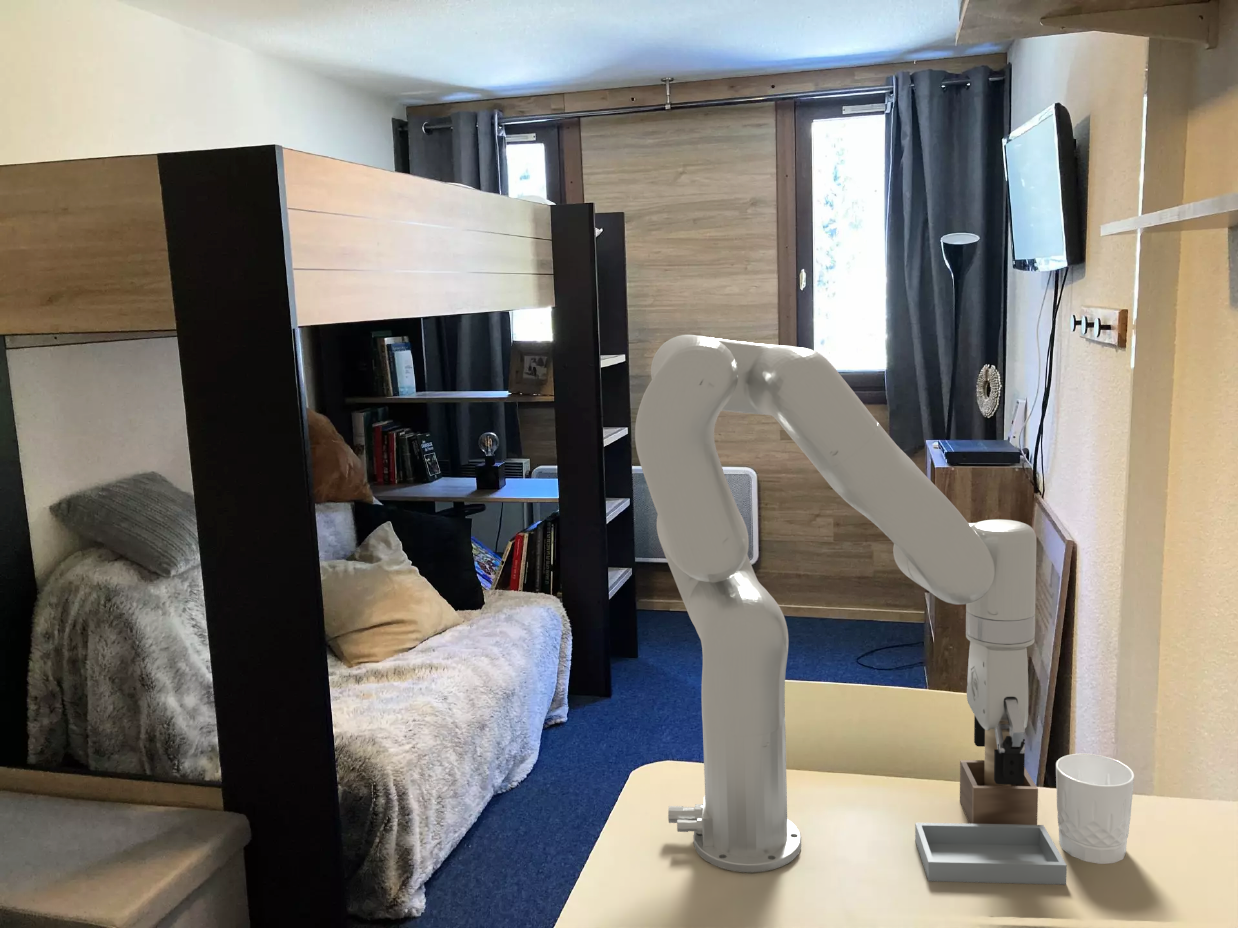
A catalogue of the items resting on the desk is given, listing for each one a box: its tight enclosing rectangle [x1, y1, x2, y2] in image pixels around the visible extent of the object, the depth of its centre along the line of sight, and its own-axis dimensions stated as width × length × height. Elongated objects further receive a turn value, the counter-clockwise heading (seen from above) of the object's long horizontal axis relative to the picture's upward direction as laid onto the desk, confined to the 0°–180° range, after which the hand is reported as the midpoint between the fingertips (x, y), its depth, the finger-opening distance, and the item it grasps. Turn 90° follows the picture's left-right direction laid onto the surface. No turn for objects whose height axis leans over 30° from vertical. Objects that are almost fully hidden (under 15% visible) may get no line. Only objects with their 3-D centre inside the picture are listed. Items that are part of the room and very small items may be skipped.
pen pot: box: [959, 759, 1039, 825], centre depth 119 cm, size 7×7×6 cm
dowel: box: [984, 721, 1011, 786], centre depth 118 cm, size 3×3×12 cm
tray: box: [914, 822, 1068, 886], centre depth 110 cm, size 14×8×3 cm, turn 83°
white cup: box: [1055, 753, 1135, 865], centre depth 111 cm, size 8×8×10 cm
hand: (998, 763), depth 118 cm, fingers open, 9 cm apart
